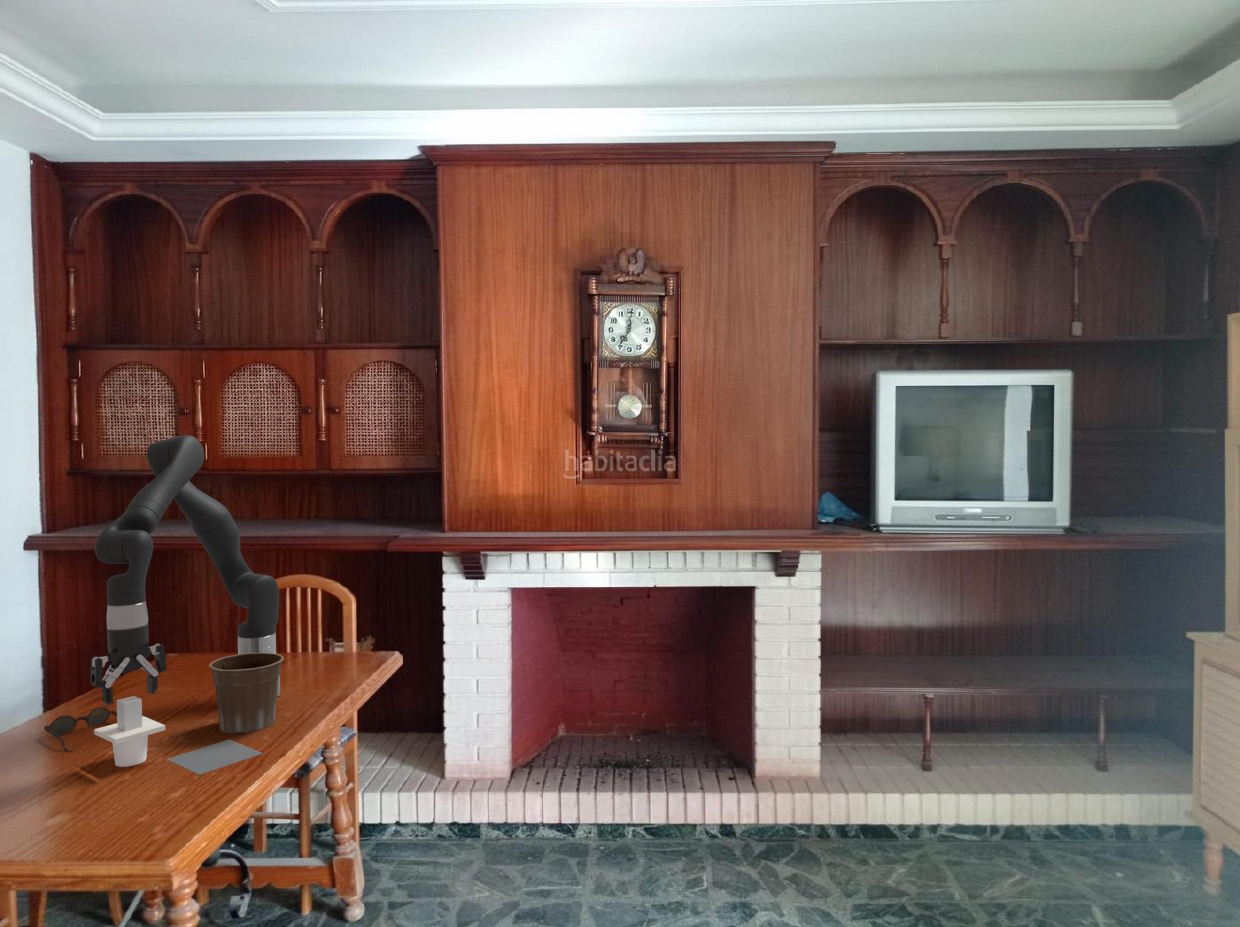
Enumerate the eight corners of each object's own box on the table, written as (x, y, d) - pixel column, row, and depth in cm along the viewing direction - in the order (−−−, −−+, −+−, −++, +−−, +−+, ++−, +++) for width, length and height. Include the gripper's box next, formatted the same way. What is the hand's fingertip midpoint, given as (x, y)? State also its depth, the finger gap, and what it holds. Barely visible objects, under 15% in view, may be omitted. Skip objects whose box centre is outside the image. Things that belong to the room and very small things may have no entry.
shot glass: (132, 771, 175) (131, 738, 175) (104, 769, 176) (103, 736, 176) (156, 759, 182) (156, 727, 181) (129, 756, 183) (128, 725, 183)
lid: (143, 720, 186) (142, 689, 185) (165, 729, 180) (164, 697, 179) (94, 733, 177) (93, 701, 177) (115, 744, 172) (114, 710, 171)
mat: (229, 741, 191) (229, 739, 191) (263, 755, 183) (263, 753, 183) (166, 761, 180) (166, 758, 180) (199, 777, 172) (199, 774, 172)
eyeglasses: (113, 722, 206) (113, 702, 205) (138, 736, 196) (137, 715, 196) (44, 739, 194) (43, 718, 194) (67, 755, 185) (66, 732, 185)
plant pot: (253, 711, 212) (251, 648, 211) (299, 720, 205) (298, 656, 204) (195, 732, 197) (193, 665, 197) (243, 743, 190) (241, 673, 190)
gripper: (153, 615, 185) (156, 686, 186) (82, 628, 174) (86, 704, 175) (170, 619, 181) (173, 693, 182) (98, 633, 170) (102, 711, 170)
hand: (130, 698), depth 178 cm, fingers open, 8 cm apart
